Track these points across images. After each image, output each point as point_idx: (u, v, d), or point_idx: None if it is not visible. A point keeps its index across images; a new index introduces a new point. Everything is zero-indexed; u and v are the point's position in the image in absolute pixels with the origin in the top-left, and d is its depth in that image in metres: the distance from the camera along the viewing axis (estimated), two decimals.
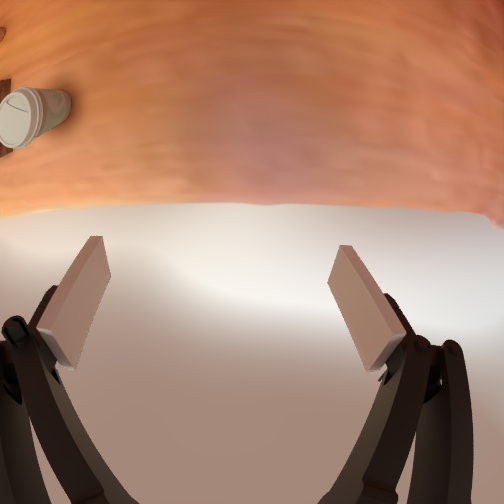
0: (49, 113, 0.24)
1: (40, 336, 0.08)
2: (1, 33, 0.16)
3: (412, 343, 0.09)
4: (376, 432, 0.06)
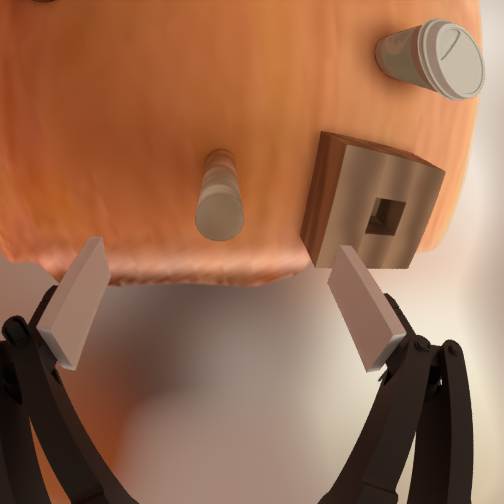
0: None
1: (40, 336, 0.08)
2: (224, 151, 0.27)
3: (412, 343, 0.09)
4: (376, 432, 0.06)
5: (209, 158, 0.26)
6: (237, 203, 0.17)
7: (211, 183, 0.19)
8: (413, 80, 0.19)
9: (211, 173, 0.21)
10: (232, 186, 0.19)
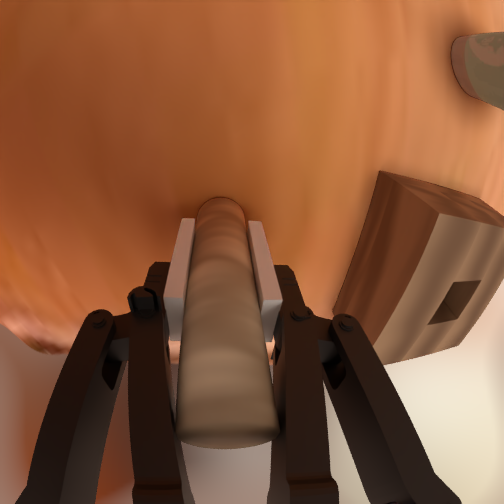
0: None
1: None
2: (227, 206, 0.16)
3: (288, 315, 0.10)
4: (282, 423, 0.07)
5: (201, 221, 0.15)
6: (268, 417, 0.06)
7: (203, 336, 0.08)
8: None
9: (203, 285, 0.10)
10: (251, 343, 0.08)
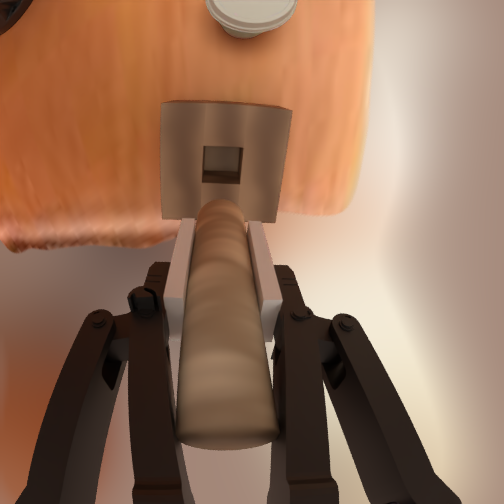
0: None
1: None
2: (227, 207, 0.16)
3: (288, 315, 0.10)
4: (282, 423, 0.07)
5: (201, 222, 0.15)
6: (268, 419, 0.06)
7: (203, 338, 0.08)
8: (232, 31, 0.21)
9: (203, 288, 0.10)
10: (251, 346, 0.08)
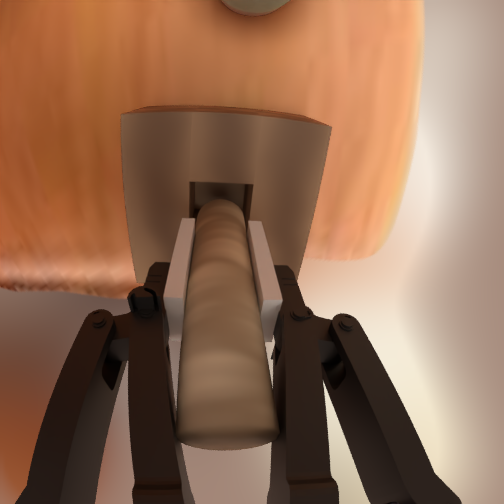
0: None
1: None
2: (227, 207, 0.16)
3: (288, 315, 0.10)
4: (282, 422, 0.07)
5: (201, 222, 0.15)
6: (268, 419, 0.06)
7: (203, 339, 0.08)
8: None
9: (203, 288, 0.10)
10: (251, 346, 0.08)
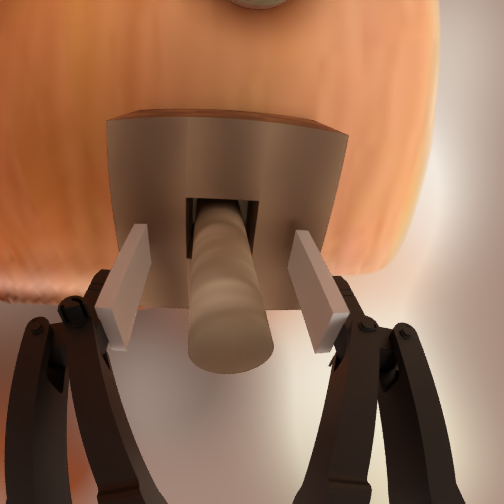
0: None
1: (95, 317, 0.09)
2: None
3: (356, 325, 0.10)
4: (333, 424, 0.07)
5: (202, 199, 0.18)
6: (263, 327, 0.09)
7: (210, 272, 0.11)
8: None
9: (208, 241, 0.13)
10: (248, 277, 0.11)
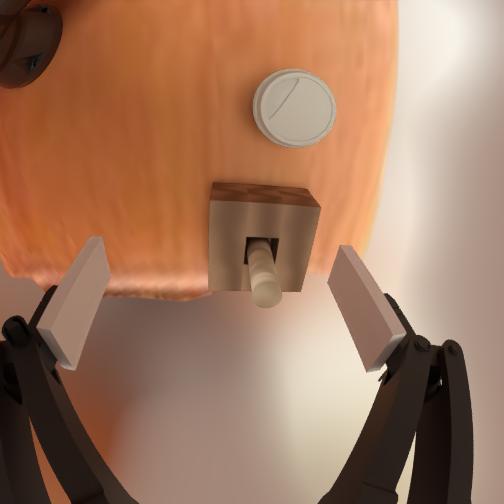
0: None
1: (40, 336, 0.08)
2: None
3: (412, 343, 0.09)
4: (376, 432, 0.06)
5: None
6: (278, 288, 0.29)
7: (259, 269, 0.31)
8: None
9: (257, 257, 0.33)
10: (273, 272, 0.31)
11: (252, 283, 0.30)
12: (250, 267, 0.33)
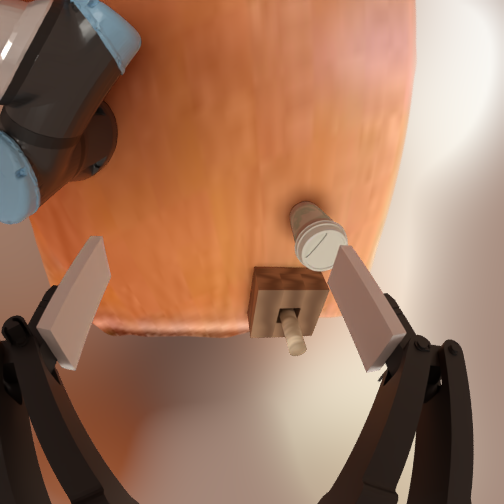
0: (325, 217, 0.41)
1: (40, 336, 0.08)
2: None
3: (412, 343, 0.09)
4: (376, 432, 0.06)
5: None
6: (305, 345, 0.46)
7: (292, 333, 0.48)
8: None
9: (289, 323, 0.50)
10: (300, 334, 0.48)
11: (288, 342, 0.47)
12: (285, 330, 0.50)
